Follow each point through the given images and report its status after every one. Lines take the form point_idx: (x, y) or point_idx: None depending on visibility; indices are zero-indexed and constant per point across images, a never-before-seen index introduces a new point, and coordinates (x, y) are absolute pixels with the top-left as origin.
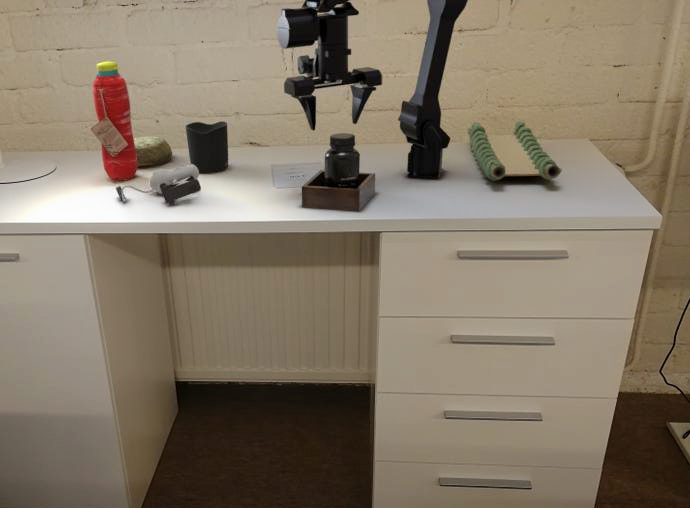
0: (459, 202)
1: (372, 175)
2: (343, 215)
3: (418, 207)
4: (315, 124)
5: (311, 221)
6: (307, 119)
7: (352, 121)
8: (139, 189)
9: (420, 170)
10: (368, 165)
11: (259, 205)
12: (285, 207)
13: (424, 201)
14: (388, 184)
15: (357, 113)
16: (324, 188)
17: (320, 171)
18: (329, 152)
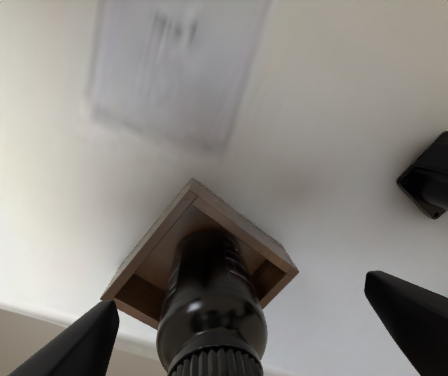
0: (369, 334)
1: (285, 284)
2: None
3: (304, 334)
4: (104, 371)
5: (116, 337)
6: (36, 357)
7: (373, 277)
8: None
9: (428, 198)
10: (390, 28)
11: (28, 223)
12: (85, 256)
13: (329, 314)
14: (336, 205)
15: (420, 373)
16: (149, 325)
17: (185, 202)
18: (164, 362)
